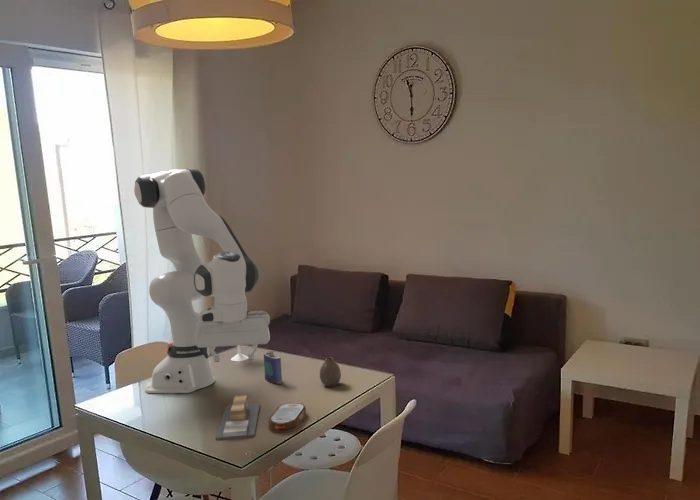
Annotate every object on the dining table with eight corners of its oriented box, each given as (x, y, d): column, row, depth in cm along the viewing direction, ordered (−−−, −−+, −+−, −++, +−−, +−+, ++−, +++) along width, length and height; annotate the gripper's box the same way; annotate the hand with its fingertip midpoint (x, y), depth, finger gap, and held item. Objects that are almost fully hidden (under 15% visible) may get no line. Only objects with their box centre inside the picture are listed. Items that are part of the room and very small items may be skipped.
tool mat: (215, 439, 154) (215, 437, 154) (226, 407, 176) (226, 406, 176) (254, 436, 155) (254, 434, 155) (259, 405, 177) (259, 403, 177)
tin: (264, 432, 157) (294, 435, 156) (264, 420, 157) (294, 423, 155) (281, 410, 172) (309, 412, 170) (281, 399, 172) (309, 402, 170)
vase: (324, 390, 187) (323, 363, 186) (317, 383, 193) (315, 357, 192) (344, 386, 189) (343, 359, 188) (336, 379, 196) (335, 354, 195)
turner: (231, 409, 173) (230, 396, 173) (252, 407, 173) (251, 394, 173) (223, 437, 154) (222, 422, 154) (246, 435, 155) (245, 420, 154)
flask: (283, 383, 195) (281, 352, 194) (276, 385, 193) (273, 353, 192) (269, 376, 202) (267, 346, 201) (262, 379, 200) (260, 348, 199)
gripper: (269, 307, 166) (272, 354, 167) (195, 311, 164) (199, 359, 166) (268, 312, 159) (271, 361, 161) (191, 316, 158) (195, 366, 160)
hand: (234, 360), depth 163 cm, fingers open, 8 cm apart
